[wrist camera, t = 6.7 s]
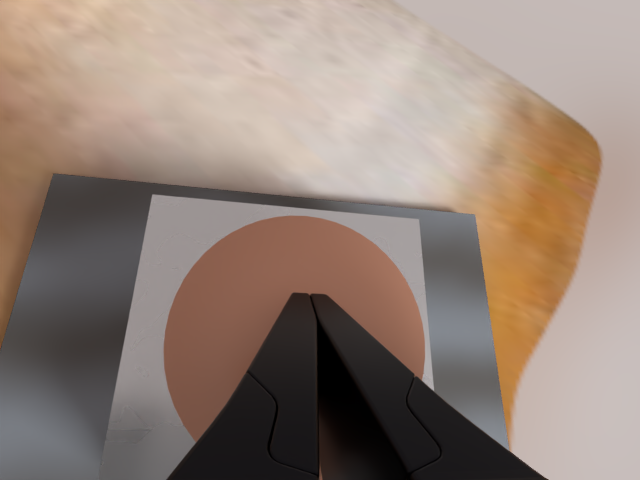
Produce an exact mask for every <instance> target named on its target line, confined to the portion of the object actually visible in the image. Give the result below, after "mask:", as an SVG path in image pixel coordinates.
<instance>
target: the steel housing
mask: <svg viewBox="0 0 640 480" xmlns="http://www.w3.org/2000/svg"><path fill="white" fill-rule="evenodd" d="M280 216H310V217H316V218H322V219H326V220H329V221H333V222H336V223H339V224H341V225H344V226H346V227H349V228H351V229H352V230H354V231H356V232H358V233H360V234H361V235H363V236H364V237H366V238H367V239H369V240H370V241H371V242H373V243H374V244H375V245H377V246H378V247H379V248H380V249H381V250H382V251H383V252H384V253H385V254H386V255H387V256H388V257H389V258H390V259H391V260H392V261H393V263H394V264H395V265H396V266H397V268H398V269H399V270H400V272H401V273H402V275H403V276H404V278H405V279H406V281H407V283H408V285H409V287H410V289H411V291H412V293H413V295H414V298H415V300H416V303H417V305H418V308H419V312H420V316H421V320H422V324H423V331H424V338H425V363H424V374H423V378H422V381H423V382H424V383H425V384H426V385H428V386H429V387H430V388H431V389H432V390H433V391H434V384H433V373H432V361H431V350H430V338H429V327H428V316H427V304H426V293H425V281H424V270H423V258H422V247H421V235H420V224H419V219H412V218H401V217H390V216H380V215H369V214H358V213H347V212H336V211H326V210H315V209H304V208H293V207H282V206H272V205H261V204H250V203H239V202H228V201H218V200H207V199H196V198H185V197H174V196H164V195H153V194H152V199H151V204H150V209H149V214H148V220H147V225H146V230H145V235H144V241H143V246H142V251H141V256H140V262H139V267H138V272H137V277H136V282H135V288H134V293H133V298H132V303H131V309H130V314H129V319H128V324H127V330H126V335H125V340H124V345H123V351H122V356H121V361H120V366H119V372H118V377H117V382H116V387H115V392H114V398H113V403H112V408H111V413H110V419H109V424H108V429H107V434H106V440H105V445H104V450H103V455H102V461H101V466H100V471H99V476H98V480H166V479H167V478H168V476H169V475H170V474H171V473H172V471H173V470H174V469H175V468H176V467H177V465H178V464H179V463H180V462H181V460H182V459H183V458H184V457H185V455H186V454H187V453H188V452H189V450H190V449H191V448H192V447H193V446H194V444H195V443H196V442H195V441H194V439H193V438H192V436H191V435H190V434H189V432H188V431H187V429H186V428H185V426H184V425H183V423H182V421H181V419H180V417H179V415H178V413H177V411H176V409H175V407H174V405H173V402H172V399H171V396H170V393H169V390H168V386H167V381H166V375H165V370H164V351H163V349H164V337H165V329H166V324H167V320H168V315H169V312H170V309H171V306H172V303H173V301H174V298H175V295H176V293H177V291H178V289H179V288H180V286H181V284H182V282H183V280H184V278H185V277H186V275H187V274H188V273H189V271H190V270H191V268H192V267H193V265H194V264H195V263H196V262H197V261H198V260H199V259H200V258H201V256H202V255H203V254H204V253H205V252H206V251H207V250H209V249H210V248H211V247H212V246H213V245H214V244H216V243H217V242H218V241H219V240H221V239H222V238H224V237H225V236H227V235H228V234H230V233H232V232H234V231H236V230H238V229H240V228H242V227H244V226H246V225H248V224H251V223H254V222H257V221H260V220H264V219H269V218H273V217H280Z"/></svg>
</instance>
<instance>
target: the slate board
mask: <svg viewBox="0 0 640 480" xmlns="http://www.w3.org/2000/svg"><path fill="white" fill-rule="evenodd" d="M152 194H153V195H164V196H174V197H185V198H196V199H207V200H218V201H228V202H239V203H250V204H261V205H272V206H282V207H293V208H304V209H315V210H326V211H336V212H347V213H358V214H369V215H380V216H390V217H401V218H412V219H419V224H420V235H421V247H422V258H423V270H424V281H425V293H426V304H427V316H428V327H429V338H430V350H431V361H432V373H433V384H434V392H436V393H437V394H438V395H439V396H440V397H441V398H443V399H444V400H445V401H446V402H447V403H448V404H449V405H451V406H452V407H453V408H455V409H456V410H457V411H458V412H460V413H461V414H462V415H463V416H465V417H466V418H467V419H468V420H470V421H471V422H472V423H473V424H475V425H476V426H477V427H479V428H480V429H481V430H483V431H484V432H485V433H486V434H488V435H489V436H490V437H492V438H493V439H494V440H496V441H497V442H498V443H499V444H501V445H502V446H503V447H505V448H506V449H507V450H509V445H508V438H507V431H506V425H505V418H504V411H503V404H502V397H501V390H500V383H499V376H498V370H497V363H496V356H495V349H494V342H493V335H492V328H491V321H490V314H489V308H488V301H487V294H486V287H485V280H484V273H483V266H482V259H481V253H480V246H479V239H478V232H477V225H476V218H475V215H474V214H464V213H454V212H444V211H433V210H423V209H413V208H403V207H392V206H382V205H372V204H362V203H351V202H341V201H331V200H321V199H310V198H300V197H290V196H280V195H269V194H259V193H249V192H239V191H228V190H218V189H208V188H198V187H187V186H177V185H167V184H157V183H146V182H136V181H126V180H116V179H105V178H95V177H85V176H75V175H64V174H53V177H52V180H51V183H50V187H49V190H48V193H47V197H46V200H45V203H44V207H43V210H42V213H41V217H40V220H39V223H38V227H37V230H36V233H35V237H34V240H33V243H32V246H31V250H30V253H29V256H28V260H27V263H26V266H25V270H24V273H23V276H22V280H21V283H20V286H19V290H18V293H17V296H16V300H15V303H14V306H13V310H12V313H11V316H10V319H9V323H8V326H7V329H6V333H5V336H4V339H3V343H2V346H1V349H0V480H98V476H99V471H100V466H101V461H102V455H103V450H104V445H105V440H106V434H107V429H108V424H109V419H110V413H111V408H112V403H113V398H114V392H115V387H116V382H117V377H118V372H119V366H120V361H121V356H122V351H123V345H124V340H125V335H126V330H127V324H128V319H129V314H130V309H131V303H132V298H133V293H134V288H135V282H136V277H137V272H138V267H139V262H140V256H141V251H142V246H143V241H144V235H145V230H146V225H147V220H148V214H149V209H150V204H151V199H152Z"/></svg>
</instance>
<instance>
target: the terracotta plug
mask: <svg viewBox="0 0 640 480" xmlns="http://www.w3.org/2000/svg"><path fill="white" fill-rule="evenodd" d="M293 292H299V293H308V294H309V295H310V294H312V293H317V294H327V295H328V296H329V297H330V298H331V299H332V300H334V301H335V302H336V303H337V304H338V305H339V306H340V307H341V308H342V309H343V310H345V311H346V312H347V313H348V314H349V315H350V316H351V317H352V318H353V319H354V320H356V321H357V322H358V323H359V324H360V325H361V326H362V327H363V328H364V329H366V330H367V331H368V332H369V333H370V334H371V335H372V336H373V337H374V338H375V339H377V340H378V341H379V342H380V343H381V344H382V345H383V346H384V347H385V348H387V349H388V350H389V351H390V352H391V353H392V354H393V355H394V356H395V357H396V358H398V359H399V360H400V361H401V362H402V363H403V364H404V365H405V366H406V367H408V368H409V369H410V370H411V371H412V372H413V373H414V374H415V376H417V377H419V378H420V379H421V380H422V378H423V374H424V363H425V338H424V331H423V324H422V320H421V316H420V312H419V308H418V305H417V303H416V300H415V298H414V295H413V293H412V291H411V289H410V287H409V285H408V283H407V281H406V279H405V278H404V276H403V275H402V273H401V272H400V270H399V269H398V268H397V266H396V265H395V264H394V263H393V261H392V260H391V259H390V258H389V257H388V256H387V255H386V254H385V253H384V252H383V251H382V250H381V249H380V248H379V247H378V246H377V245H375V244H374V243H373V242H371V241H370V240H369V239H367V238H366V237H364V236H363V235H361V234H360V233H358V232H356V231H354V230H352V229H351V228H349V227H346V226H344V225H341V224H339V223H336V222H333V221H329V220H326V219H322V218H316V217H310V216H280V217H273V218H269V219H264V220H260V221H257V222H254V223H251V224H248V225H246V226H244V227H242V228H240V229H238V230H236V231H234V232H232V233H230V234H228V235H227V236H225V237H224V238H222V239H221V240H219V241H218V242H217V243H216V244H214V245H213V246H212V247H211V248H210V249H209V250H207V251H206V252H205V253H204V254H203V255H202V256H201V258H200V259H199V260H198V261H197V262H196V263H195V264H194V265H193V267H192V268H191V270H190V271H189V273H188V274H187V275H186V277H185V278H184V280H183V282H182V284H181V286H180V288H179V289H178V291H177V293H176V295H175V298H174V301H173V303H172V306H171V309H170V312H169V315H168V320H167V324H166V329H165V337H164V349H163V351H164V370H165V375H166V381H167V386H168V390H169V393H170V396H171V399H172V402H173V405H174V407H175V409H176V411H177V413H178V415H179V417H180V419H181V421H182V423H183V425H184V426H185V428H186V429H187V431H188V432H189V434H190V435H191V436H192V438H193V439H194V441H195V442H197V441H198V439H199V438H200V437H201V436H202V434H203V433H204V432H205V431H206V429H207V428H208V427H209V426H210V424H211V423H212V422H213V420H214V419H215V418H216V416H217V415H218V414H219V413H220V411H221V410H222V409H223V407H224V406H225V405H226V403H227V401H228V400H229V398H230V397H231V395H232V394H233V392H234V391H235V389H236V387H237V386H238V384H239V382H240V381H241V379H242V377H243V376H244V374H246V371H247V369H248V367H249V366H250V364H251V362H252V361H253V359H254V357H255V355H256V354H257V352H258V350H259V349H260V347H261V345H262V343H263V342H264V340H265V338H266V337H267V335H268V333H269V331H270V330H271V328H272V326H273V325H274V323H275V321H276V319H277V318H278V316H279V314H280V313H281V311H282V309H283V307H284V306H285V304H286V302H287V301H288V299H289V297H290V295H291V294H292V293H293ZM319 466H320V462H319ZM319 480H323V479H322V474H321V468H320V477H319Z"/></svg>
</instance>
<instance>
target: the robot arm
mask: <svg viewBox="0 0 640 480" xmlns="http://www.w3.org/2000/svg"><path fill="white" fill-rule="evenodd" d="M319 462H320V466H319ZM320 468H321V474H322V479H323V480H548V479H546V478H544V477H543V476H542V475H540V474H539V473H538V472H536V471H535V470H533V469H532V468H531V467H529V466H528V465H527V464H526V463H524V462H523V461H522V460H520V459H519V458H518V457H516V456H515V455H514V454H513V453H511V452H510V451H509V450H507V449H506V448H505V447H503V446H502V445H501V444H499V443H498V442H497V441H496V440H494V439H493V438H492V437H490V436H489V435H488V434H486V433H485V432H484V431H483V430H481V429H480V428H479V427H477V426H476V425H475V424H473V423H472V422H471V421H470V420H468V419H467V418H466V417H465V416H463V415H462V414H461V413H460V412H458V411H457V410H456V409H455V408H453V407H452V406H451V405H449V404H448V403H447V402H446V401H445V400H444V399H443V398H441V397H440V396H439V395H438V394H437V393H436V392H434V391H433V390H432V389H431V388H430V387H429V386H428V385H426V384H425V383H424V382H423V381H422V380H421V379H420V378H419V377H417V376H415V374H414V373H413V372H412V371H411V370H410V369H409V368H408V367H406V366H405V365H404V364H403V363H402V362H401V361H400V360H399V359H398V358H396V357H395V356H394V355H393V354H392V353H391V352H390V351H389V350H388V349H387V348H385V347H384V346H383V345H382V344H381V343H380V342H379V341H378V340H377V339H375V338H374V337H373V336H372V335H371V334H370V333H369V332H368V331H367V330H366V329H364V328H363V327H362V326H361V325H360V324H359V323H358V322H357V321H356V320H354V319H353V318H352V317H351V316H350V315H349V314H348V313H347V312H346V311H345V310H343V309H342V308H341V307H340V306H339V305H338V304H337V303H336V302H335V301H334V300H332V299H331V298H330V297H329V296H328V295H327V294H317V293H312V294H310V295H309V294H308V293H299V292H293V293H292V294H291V295H290V297H289V299H288V301H287V302H286V304H285V306H284V307H283V309H282V311H281V313H280V314H279V316H278V318H277V319H276V321H275V323H274V325H273V326H272V328H271V330H270V331H269V333H268V335H267V337H266V338H265V340H264V342H263V343H262V345H261V347H260V349H259V350H258V352H257V354H256V355H255V357H254V359H253V361H252V362H251V364H250V366H249V367H248V369H247V371H246V374H244V376H243V377H242V379H241V381H240V382H239V384H238V386H237V387H236V389H235V391H234V392H233V394H232V395H231V397H230V398H229V400H228V401H227V403H226V405H225V406H224V407H223V409H222V410H221V411H220V413H219V414H218V415H217V416H216V418H215V419H214V420H213V422H212V423H211V424H210V426H209V427H208V428H207V429H206V431H205V432H204V433H203V434H202V436H201V437H200V438H199V439H198V441H197V442H196V443H195V444H194V446H193V447H192V448H191V449H190V450H189V452H188V453H187V454H186V455H185V457H184V458H183V459H182V460H181V462H180V463H179V464H178V465H177V467H176V468H175V469H174V470H173V471H172V473H171V474H170V475H169V476H168V478H167V479H166V480H319V477H320Z"/></svg>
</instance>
